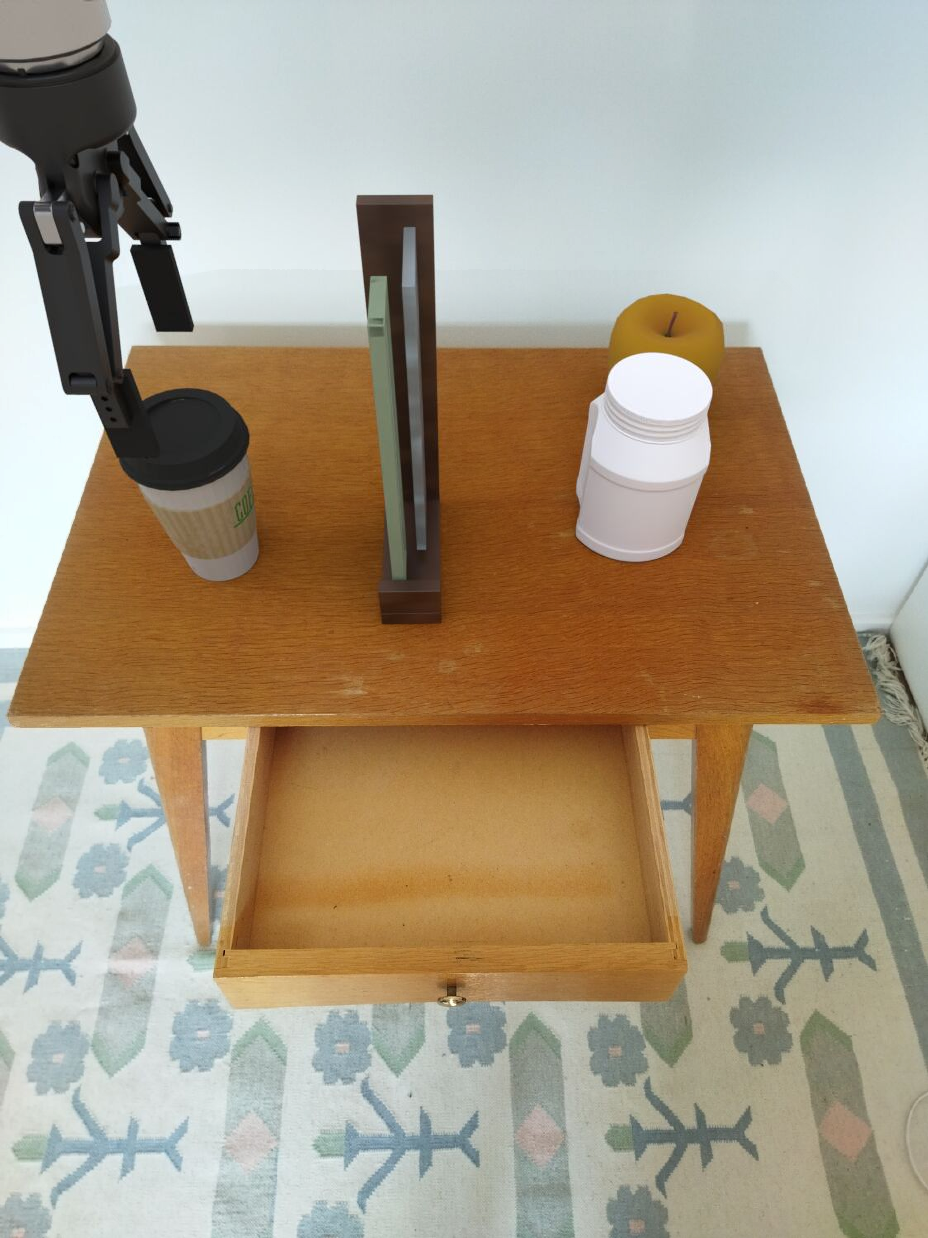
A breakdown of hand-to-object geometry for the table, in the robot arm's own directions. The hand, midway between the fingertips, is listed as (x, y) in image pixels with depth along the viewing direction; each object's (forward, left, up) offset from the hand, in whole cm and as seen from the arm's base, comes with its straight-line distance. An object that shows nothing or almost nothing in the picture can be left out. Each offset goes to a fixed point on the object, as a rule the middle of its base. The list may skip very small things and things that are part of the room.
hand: (158, 387), depth 58 cm
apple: (+41, +17, -19) cm, 48 cm away
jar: (+37, +4, -19) cm, 42 cm away
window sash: (+16, -4, -16) cm, 24 cm away
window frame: (+17, -1, -19) cm, 25 cm away
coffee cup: (0, 0, -19) cm, 19 cm away
